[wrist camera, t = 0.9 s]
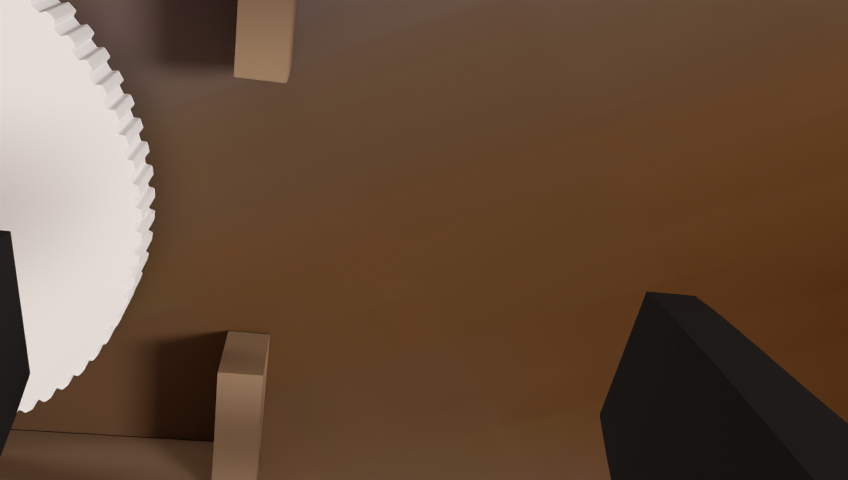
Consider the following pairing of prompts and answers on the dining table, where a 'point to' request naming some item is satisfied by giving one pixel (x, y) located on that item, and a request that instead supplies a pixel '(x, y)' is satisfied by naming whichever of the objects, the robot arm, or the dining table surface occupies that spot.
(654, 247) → the dining table surface
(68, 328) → the plastic lid
